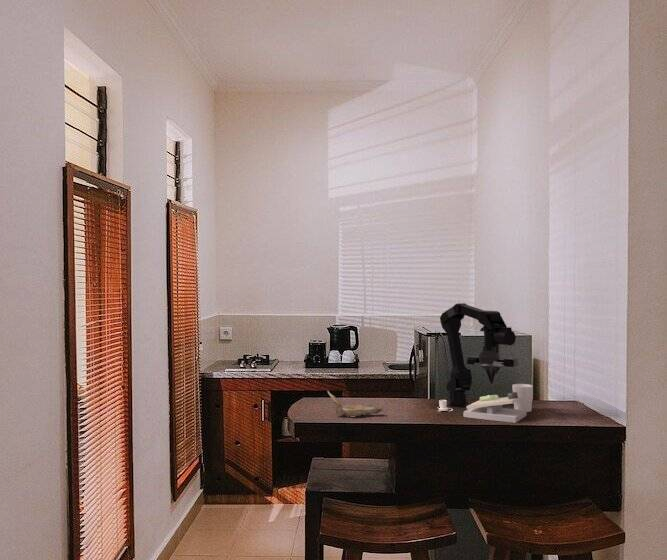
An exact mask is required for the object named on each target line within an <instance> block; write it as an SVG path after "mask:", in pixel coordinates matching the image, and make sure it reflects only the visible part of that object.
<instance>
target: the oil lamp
mask: <svg viewBox="0 0 667 560" xmlns="http://www.w3.org/2000/svg"><path fill="white" fill-rule="evenodd" d="M327 394H328V395H329V396H330V398H331V399H332V401H333V405H334V411H335V413H336V414H338V415H341V414H345V415H348V416H359V417H362V416H361V415H364V416H369V415H375V414H376V415H377V414H379V413H380V412H382V410H383V407H377V406H364V405H363V404H347V405H342V403H341V402H340V400H339V399H338V398H337V397H336V396H335V395H333V394H332V393H331V392H330V391H329V390H327ZM338 409H340V411H339V410H338ZM345 415H344V416H345Z"/></svg>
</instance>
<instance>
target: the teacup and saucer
mask: <svg viewBox="0 0 667 560" xmlns="http://www.w3.org/2000/svg"><path fill="white" fill-rule="evenodd" d="M447 402H448V401H447V400H446V399H439V400H438V405H439V407H440V408H439V407H438V412H441V411H448V412H452V411H454V409H453V408H451V407H447V405H448V403H447ZM450 409H451V410H450Z"/></svg>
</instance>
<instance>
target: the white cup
mask: <svg viewBox="0 0 667 560" xmlns="http://www.w3.org/2000/svg"><path fill="white" fill-rule="evenodd" d="M511 386H512V387H511V388H512V392H517V395H518V396H519V395H522V396H523V398H521V399H520V400H518V401H516V402H514V403H513V409H517V410H526V413H529V412H532V408H533V395H534V394H533V392H534V391H533V390H534V389H533V388H534V386H533V385H532V384H528V383H515V384H512V385H511Z"/></svg>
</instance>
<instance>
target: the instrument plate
mask: <svg viewBox="0 0 667 560" xmlns="http://www.w3.org/2000/svg"><path fill="white" fill-rule="evenodd" d="M506 395H507V396H505V397H499V395H498V394H491V395H489V394H488V395H483V396H480V397H479V400H477V401H475V402H473V403H470V404H468V405H466V406H465V407H466V410H468V409H470V408H478V407H488V406H495V405H510V404H512V405H513V404H514V402H516V401H518V400H520V399H521V398H523V396H522V395H519V396H518V395H517V392H513V391H512V392H509V393H507V394H506Z"/></svg>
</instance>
